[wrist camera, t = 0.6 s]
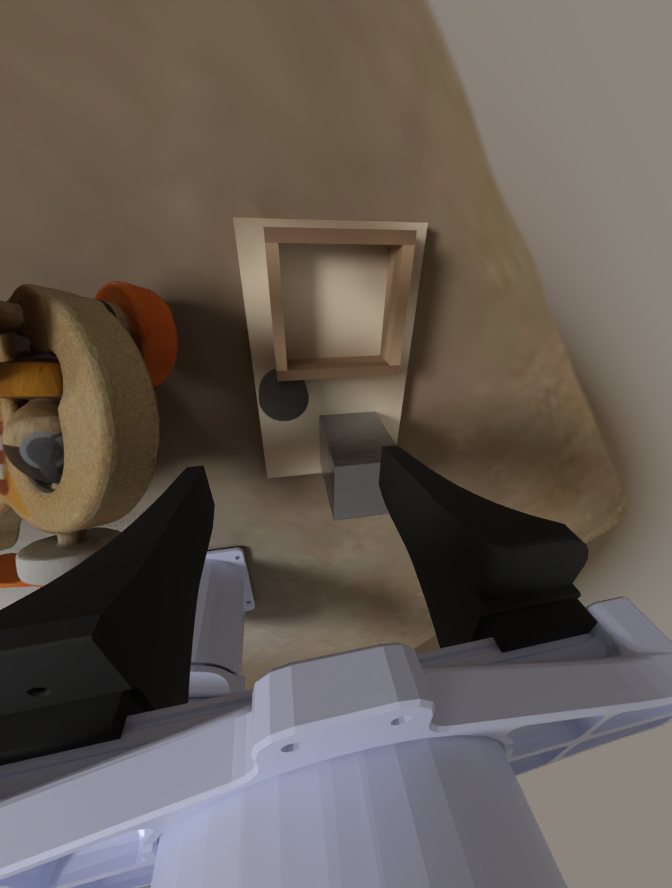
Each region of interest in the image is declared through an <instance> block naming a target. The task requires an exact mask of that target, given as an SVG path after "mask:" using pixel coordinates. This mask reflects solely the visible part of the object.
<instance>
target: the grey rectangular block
mask: <svg viewBox="0 0 672 888" xmlns="http://www.w3.org/2000/svg"><path fill="white" fill-rule="evenodd" d="M319 442H320V465H321V469H322V474H323V478H324V482H325V486H326V490H327V494H328V498H329V503H330V507H331V511H332V515H333V519H334V521H335V520H343V519H351V518H359V517H366V516H374V515H382V514H389V512H388V510H387V507H386V505H385V503H384V500H383V497H382V494H381V491H380V488H379V473H380V462H381V451H382V447H383V446H393V445H396V444H395V442H394V440H393V439H392V437H391V436H390V434H389V433H388V431H387V429H386V428H385V426H384V425H383V423H382V422H381V420H380V418H379V417H378V415H377V414H376V412H375V411H374V412H360V413H347V414H333V415H319ZM396 446H397V445H396Z"/></svg>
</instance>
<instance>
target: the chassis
mask: <svg viewBox="0 0 672 888" xmlns="http://www.w3.org/2000/svg"><path fill="white" fill-rule="evenodd" d="M233 221H234V229H235V236H236V244H237V251H238V259H239V267H240V274H241V282H242V289H243V297H244V305H245V312H246V320H247V327H248V335H249V342H250V350H251V358H252V365H253V373H254V380H255V388H256V396H257V403H258V411H259V418H260V426H261V434H262V441H263V449H264V456H265V464H266V472H267V478H277V477H286V476H296V475H306V474H316V473H322V469H321V465H320V442H319V415H333V414H347V413H360V412H374V411H375V412H376V414H377V415H378V417H379V418H380V420H381V422H382V423H383V425H384V426H385V428H386V429H387V431H388V433H389V434H390V436H391V437H392V439H393V440H394V442H395V444H396V445H397V440H398V433H399V426H400V418H401V411H402V404H403V397H404V390H405V383H406V376H407V369H408V361H409V354H410V347H411V340H412V333H413V326H414V319H415V312H416V304H417V297H418V290H419V283H420V276H421V269H422V262H423V255H424V247H425V240H426V233H427V226H428V223H414V222H378V221H343V220H308V219H272V218H237V217H233Z"/></svg>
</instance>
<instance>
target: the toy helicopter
mask: <svg viewBox="0 0 672 888" xmlns="http://www.w3.org/2000/svg"><path fill="white" fill-rule="evenodd" d="M177 350H178V336H177V331H176V326H175V322H174V319H173V315H172V313H171V311H170V308H169V307H168V306H167V304H166V303H165V302H164V300H163V299H162V298H161V297H160V296H158V295H157V294H156V293H154V292H153V291H151V290H149V289H145V288H142V287H138V286H135V285H132V284H128V283H125V282H118V281H116V282H110V283H108V284H106V285H105V286H103V287H102V288H101V289H100V290H99V291H98V293H97V294H96V296H95V298H94V299H92V298H87V297H80V296H79V295H76V294H73V293H69V292H66V291H61V290H57V289H52V288H47V287H43V286H38V285H33V284H25V285H21V286H19V287H18V288H17V289H16V290H15V291H14V293H13V295H12V296H11V298H10V299H9V300H8V301H6V302H4V301H0V551H1V550H5V549H9V548H11V547H13V546H14V545H15V543H16V542H17V540H18V536H19V532H20V523H21V521H22V519H23V520H24V521H26V522H27V523H28V524H30V525H32V526H33V527H35V528H37V529H39V530H42V531H45V532H48V533H54V534H57V535H55V536H51V537H47V538H44V539H41V540H38V541H35V542H33V543H31V544H29V545H27V546H26V547H24V548H22V549H21V550H20V551H19V552H18V553H9V554H3V555H0V588H7V587H28V586H36V587H40V588H41V587H43V586H45V585H46V584H48V583H50V582H51V581H53V580H54V579H56V578H58V577H59V576H61V575H63V574H64V573H66V572H67V571H69V570H70V569H72V568H73V567H75V566H77V565H78V564H80V563H81V562H82V561H84V560H85V559H87V558H88V557H89V556H91V555H92V554H94V553H95V552H96V551H98V550H99V549H101V548H102V547H103V546H105V545H106V544H107V543H109V542H110V541H111V540H113V539H114V538H115V537H116V536H118V535H119V534H120V533H121V532H120V531H118V530H113V529H109V528H100V527H97V528H91V527H95V526H99V525H103V524H107V523H110V522H113V521H116V520H118V519H120V518H122V517H123V516H125V515H126V514H127V513H129V512H130V511H131V510H132V509H133V508H134V507H135V506H136V505H137V503H138V502H139V501H140V499H141V498H142V496H143V495H144V493H145V492H146V490H147V488H148V485H149V483H150V481H151V479H152V477H153V474H154V471H155V467H156V464H157V459H158V452H159V443H160V422H159V412H158V405H157V401H156V396H155V392H154V388H153V387H155V386H158V385H160V384H161V383H162V382H163V381H164V380H165V379H166V378H167V377H168V376H169V374H170V373H171V371H172V369H173V367H174V364H175V361H176V356H177ZM87 528H89V529H87Z"/></svg>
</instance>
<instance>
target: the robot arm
mask: <svg viewBox="0 0 672 888" xmlns="http://www.w3.org/2000/svg"><path fill="white" fill-rule="evenodd" d="M379 488H380V491H381V494H382V497H383V500H384V503H385V505H386V507H387V510H388V512H389V514H390V516H391V518H392V520H393V522H394V524H395V526H396V528H397V530H398V532H399V534H400V536H401V538H402V540H403V542H404V544H405V546H406V548H407V551H408V553H409V555H410V558H411V560H412V563H413V566H414V568H415V571H416V574H417V577H418V580H419V582H420V585H421V588H422V591H423V594H424V597H425V600H426V603H427V606H428V609H429V613H430V616H431V619H432V622H433V625H434V629H435V632H436V635H437V639H438V642H439V645H440V649H436V650H432V651H427V652H422V653H418V654H416V653H415V650H414V649H413V648H411V647H409V646H406V645H403V644H400V643H387V644H378V645H373V646H368V647H364V648H359V649H354V650H349V651H344V652H339V653H335V654H330V655H325V656H320V657H315V658H310V659H306V660H301V661H296V662H291V663H288V664H285V665H282V666H279V667H276V668H273V669H271V670H270V671H269V672H267V673H266V674H264V675H263V676H262V677H260V678H259V679H258V680H257V682H256V683H255V686H254V689H251V690H246V691H245V676H243V675H240V674H241V669H242V654H243V636H244V619H245V611H250V610H253V609H254V608H255V602H254V597H253V593H252V588H251V584H250V579H249V574H248V570H247V565H246V561H245V556H244V552H243V549H242V548H239V547H237V548H229V549H222V550H215V551H207V550H208V546H209V542H210V537H211V533H212V528H213V519H214V506H215V505H214V501H213V498H212V494H211V490H210V487H209V483H208V480H207V476H206V473H205V469H204V466H195V467H187V468H186V469H185V470H184V471H183V472H182V473H181V474H180V475H179V476H178V477H177V479H176V480H175V481H174V482H173V483H172V484H171V485H170V486H169V487H168V488H167V489H166V491H165V492H164V493H163V494H162V495H161V496H160V497H159V498H158V499H157V500H156V501H155V502H154V503H153V504H152V505H151V506H150V507H149V508H148V509H147V510H146V511H145V512H144V513H143V514H142V515H140V516H139V517H138V518H137V519H136V520H135V521H134V522H133V523H132V524H131V525H130V526H128V527H127V528H126V529H125V530H124V531H123V532H121V533H120V534H119V535H118V536H116V537H115V538H114V539H113V540H111V541H110V542H109V543H107V544H106V545H105V546H103V547H102V548H101V549H99V550H98V551H96V552H95V553H94V554H92V555H91V556H89V557H88V558H87V559H85V560H84V561H82V562H81V563H80V564H78V565H77V566H75V567H73V568H72V569H70V570H69V571H67V572H66V573H64V574H63V575H61V576H59V577H58V578H56V579H54V580H53V581H51V582H50V583H48V584H46V585H45V586H43V587H41V588H40V589H38V590H36V591H34V592H33V593H31V594H29V595H27V596H25V597H24V598H22V599H20V600H18V601H16V602H14V603H13V604H11V605H9V606H7V607H5V608H3V609H1V610H0V888H567V885H566V884H565V881H564V879H563V877H562V875H561V873H560V871H559V868H558V866H557V864H556V862H555V860H554V858H553V855H552V853H551V851H550V849H549V847H548V845H547V843H546V840H545V838H544V836H543V835H542V832H541V830H540V828H539V826H538V823H537V821H536V819H535V817H534V815H533V813H532V811H531V809H530V806H529V804H528V802H527V800H526V798H525V796H524V793H523V791H522V789H521V787H520V785H519V783H518V781H517V778H516V776H518V775H521V774H524V773H526V772H529V771H531V770H534V769H537V768H540V767H543V766H546V765H548V764H551V763H554V762H557V761H560V760H562V759H565V758H568V757H571V756H573V755H576V754H579V753H582V752H584V751H587V750H590V749H593V748H596V747H599V746H601V745H604V744H607V743H610V742H613V741H616V740H619V739H622V738H625V737H628V736H631V735H635V734H638V733H641V732H644V731H648V730H651V729H654V728H658V727H661V726H664V725H665V724H667V723H668V722H670V721H671V720H672V641H671V640H670V639H669V638H668V637H667V636H666V635H664V633H662V632H661V631H660V630H659V629H658V628H657V627H656V626H655V625H654V624H653V623H652V622H651V621H650V620H649V619H648V618H647V617H646V616H645V615H644V614H643V613H642V612H641V611H640V610H639V609H638V608H637V607H636V606H635V605H634V604H633V603H632V602H631V601H630V600H629V599H628V598H627V597H617V598H613V599H608V600H603V601H598V602H595V603H592V604H590V605H588V606H587V607H586V608H585V607H584V606H583V605H582V604H581V603H580V601H579V600H578V599H577V598H579V597H580V595H581V594H580V592H579V591H578V589H577V588H576V587H575V586H574V585H573V584H572V583H573V581H574V580H575V578H576V577H577V575H578V574H579V573H580V571H581V570H582V568H583V567H584V565H585V563H586V561H587V559H588V548H587V545H586V544H585V543H584V542H583V541H582V540H581V539H580V538H578V537H577V536H576V535H575V534H574V533H573V532H572V531H571V530H570V529H569V528H568V527H567V526H566V525H565V524H562V523H558V522H554V521H551V520H547V519H543V518H539V517H536V516H532V515H529V514H526V513H523V512H519V511H516V510H513V509H510V508H508V507H505V506H502V505H500V504H497V503H495V502H492V501H490V500H487V499H485V498H482V497H480V496H478V495H476V494H474V493H472V492H470V491H468V490H466V489H464V488H462V487H460V486H458V485H456V484H454V483H452V482H451V481H449V480H447V479H446V478H444V477H442V476H441V475H439V474H437V473H436V472H434V471H433V470H431V469H430V468H428V467H427V466H425V465H424V464H422V463H421V462H419V461H418V460H416V459H415V458H414V457H412V456H411V455H409V454H408V453H407V452H405V451H404V450H402V449H401V448H399V447H398V446H396V445H393V446H383V447H382V451H381V462H380V473H379Z"/></svg>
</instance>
